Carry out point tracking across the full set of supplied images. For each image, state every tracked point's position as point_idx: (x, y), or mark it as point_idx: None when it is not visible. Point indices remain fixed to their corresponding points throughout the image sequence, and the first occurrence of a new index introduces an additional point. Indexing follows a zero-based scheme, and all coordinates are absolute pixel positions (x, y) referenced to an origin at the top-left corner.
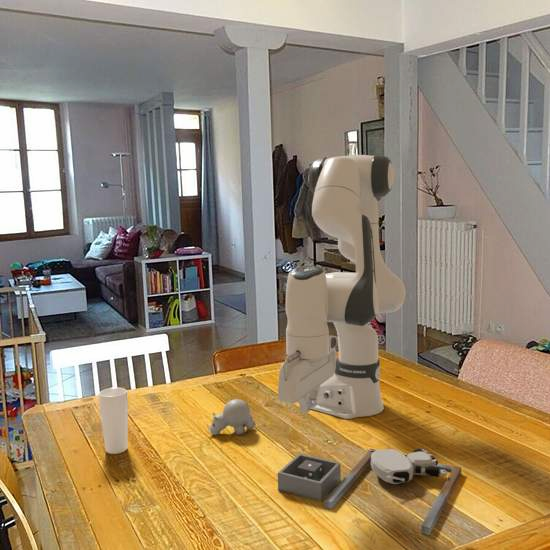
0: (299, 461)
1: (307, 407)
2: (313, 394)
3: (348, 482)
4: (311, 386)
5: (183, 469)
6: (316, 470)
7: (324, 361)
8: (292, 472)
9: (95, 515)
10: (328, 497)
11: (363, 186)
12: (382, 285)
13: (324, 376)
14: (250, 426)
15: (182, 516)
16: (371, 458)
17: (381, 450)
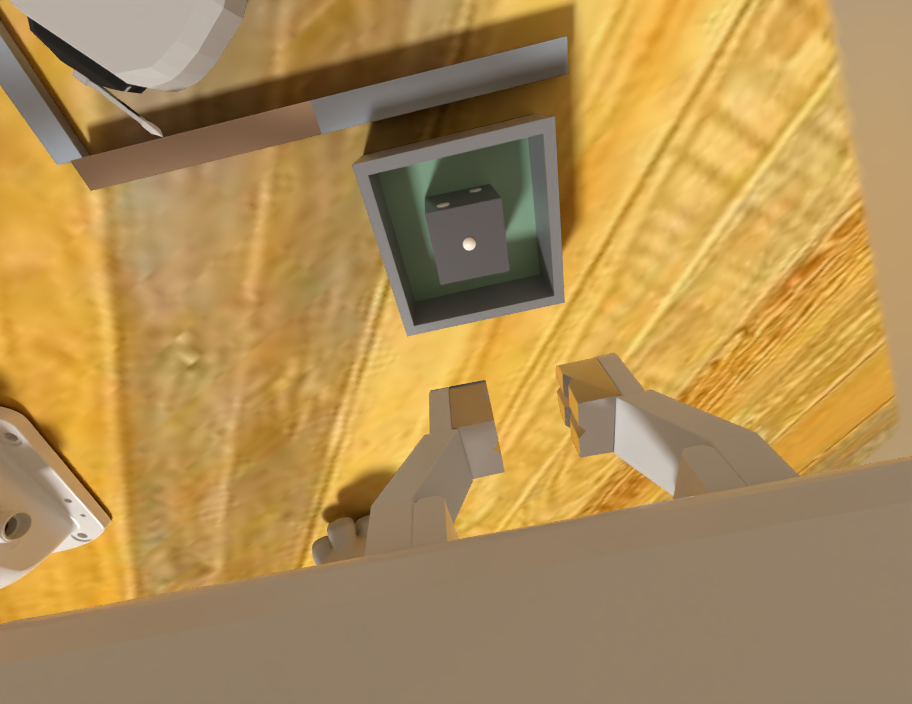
0: (422, 314)
1: (632, 378)
2: (447, 482)
3: (392, 80)
4: (810, 569)
5: (577, 484)
6: (480, 201)
7: None
8: (471, 296)
9: (795, 465)
10: (542, 73)
11: None
12: None
13: (256, 685)
14: (349, 524)
15: (756, 362)
16: (196, 55)
17: (88, 46)
